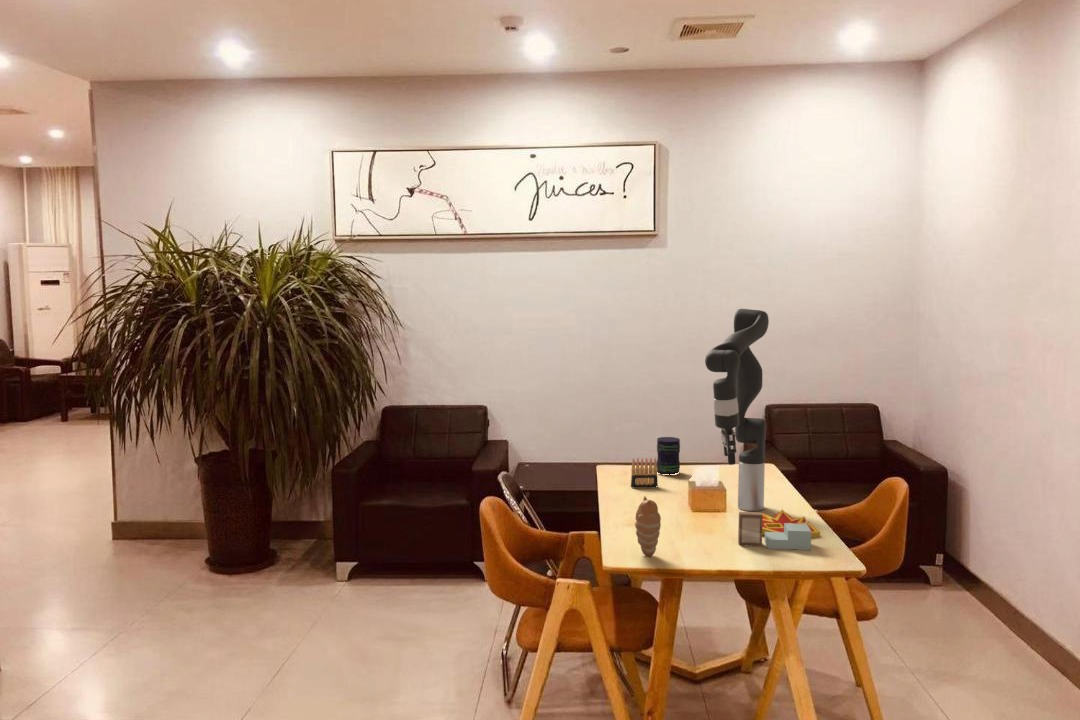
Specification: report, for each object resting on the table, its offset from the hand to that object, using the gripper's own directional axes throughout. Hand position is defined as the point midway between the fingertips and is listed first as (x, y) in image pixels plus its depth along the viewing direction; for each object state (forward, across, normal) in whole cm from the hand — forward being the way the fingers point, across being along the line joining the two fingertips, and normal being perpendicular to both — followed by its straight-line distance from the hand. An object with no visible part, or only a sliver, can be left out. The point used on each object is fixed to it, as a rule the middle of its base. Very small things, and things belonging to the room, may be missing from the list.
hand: (729, 459), depth 276 cm
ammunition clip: (+30, -63, -27) cm, 74 cm away
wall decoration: (+30, -11, +17) cm, 36 cm away
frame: (+26, +9, +3) cm, 27 cm away
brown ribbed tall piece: (+21, +22, -30) cm, 42 cm away
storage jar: (+34, -87, -16) cm, 94 cm away
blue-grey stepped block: (+26, +10, +14) cm, 32 cm away
